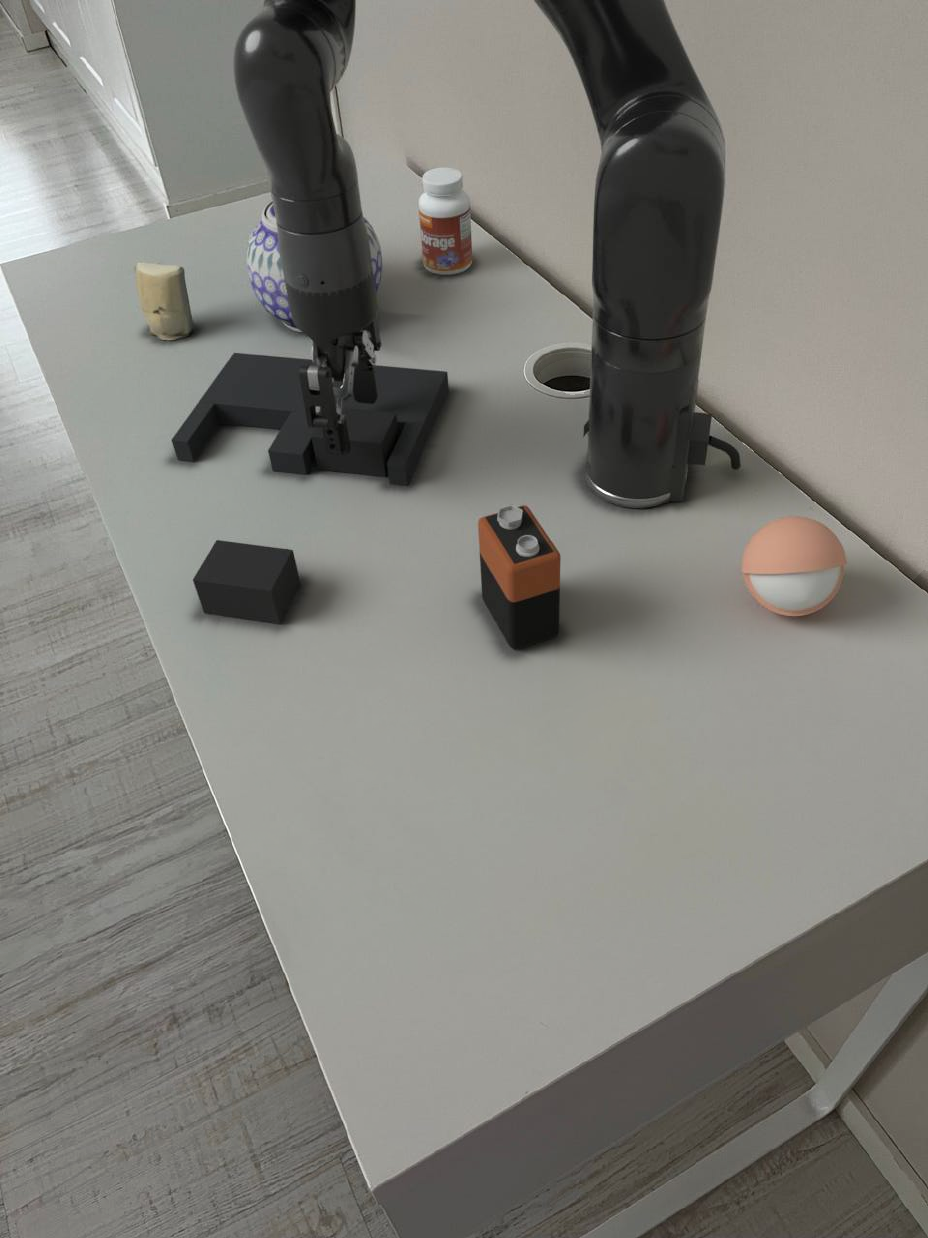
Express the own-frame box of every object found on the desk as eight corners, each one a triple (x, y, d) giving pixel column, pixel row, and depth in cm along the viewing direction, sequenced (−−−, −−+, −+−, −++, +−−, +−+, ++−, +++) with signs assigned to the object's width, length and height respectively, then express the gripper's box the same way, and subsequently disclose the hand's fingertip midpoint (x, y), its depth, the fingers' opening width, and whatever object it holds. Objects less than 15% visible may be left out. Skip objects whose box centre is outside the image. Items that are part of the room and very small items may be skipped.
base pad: (449, 391, 108) (447, 371, 106) (407, 486, 97) (405, 465, 96) (238, 372, 113) (233, 352, 111) (177, 460, 102) (170, 439, 100)
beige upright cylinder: (194, 315, 122) (177, 251, 116) (203, 335, 119) (186, 271, 113) (146, 326, 121) (127, 262, 115) (154, 347, 117) (134, 283, 112)
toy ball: (748, 639, 82) (764, 566, 76) (724, 572, 87) (737, 500, 81) (848, 630, 82) (871, 557, 76) (818, 564, 87) (837, 491, 81)
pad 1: (301, 583, 89) (293, 549, 86) (280, 624, 86) (271, 590, 83) (226, 573, 90) (216, 539, 87) (203, 613, 87) (192, 579, 84)
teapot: (419, 346, 115) (407, 215, 104) (287, 380, 111) (259, 249, 100) (353, 251, 131) (336, 130, 120) (236, 278, 128) (208, 156, 117)
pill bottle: (414, 271, 127) (405, 181, 119) (438, 249, 130) (431, 161, 122) (458, 280, 124) (453, 190, 116) (481, 257, 128) (477, 168, 120)
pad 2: (400, 446, 102) (396, 412, 99) (386, 477, 99) (381, 443, 96) (334, 439, 103) (328, 406, 100) (317, 469, 100) (311, 436, 97)
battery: (527, 583, 87) (526, 492, 80) (561, 637, 83) (563, 545, 76) (480, 598, 86) (474, 507, 79) (511, 653, 82) (509, 562, 75)
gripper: (342, 313, 81) (368, 476, 93) (393, 230, 90) (410, 388, 102) (254, 306, 82) (290, 467, 94) (314, 226, 92) (339, 381, 103)
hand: (353, 426), depth 98 cm, fingers open, 8 cm apart
